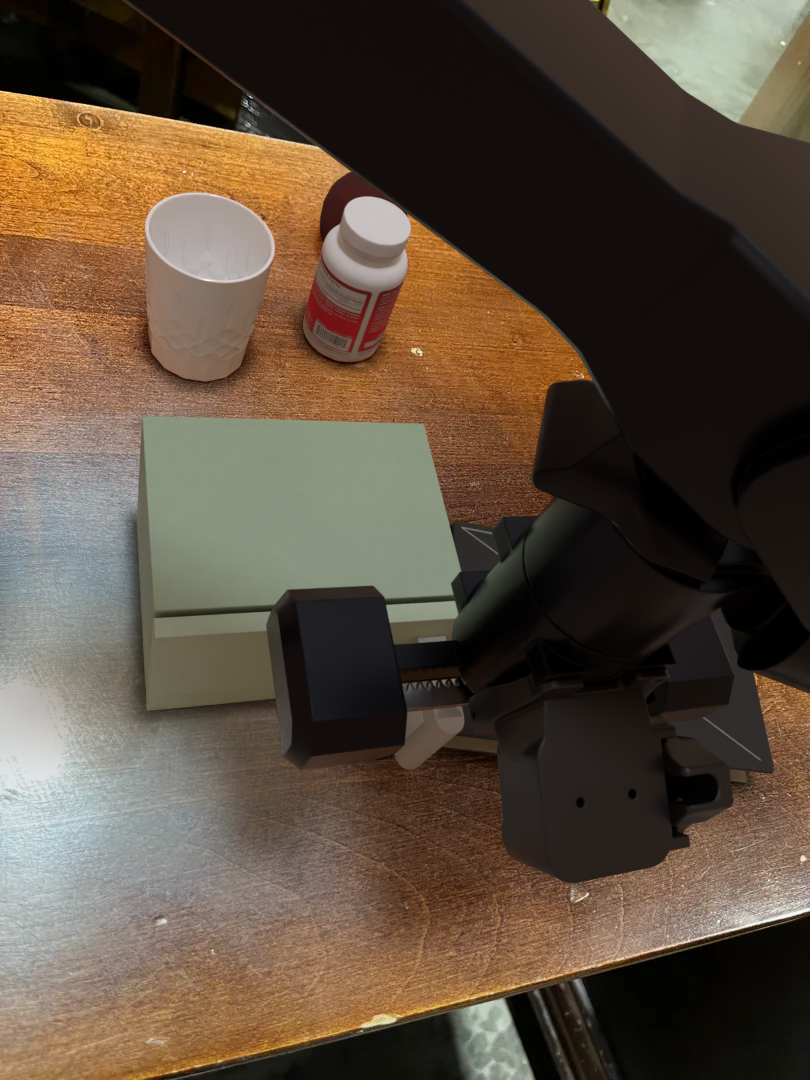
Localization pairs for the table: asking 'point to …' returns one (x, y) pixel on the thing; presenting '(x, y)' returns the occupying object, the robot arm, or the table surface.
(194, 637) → the door
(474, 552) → the book
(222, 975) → the table surface
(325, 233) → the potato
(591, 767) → the robot arm
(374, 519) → the cupboard
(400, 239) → the pill bottle
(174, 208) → the white cup
